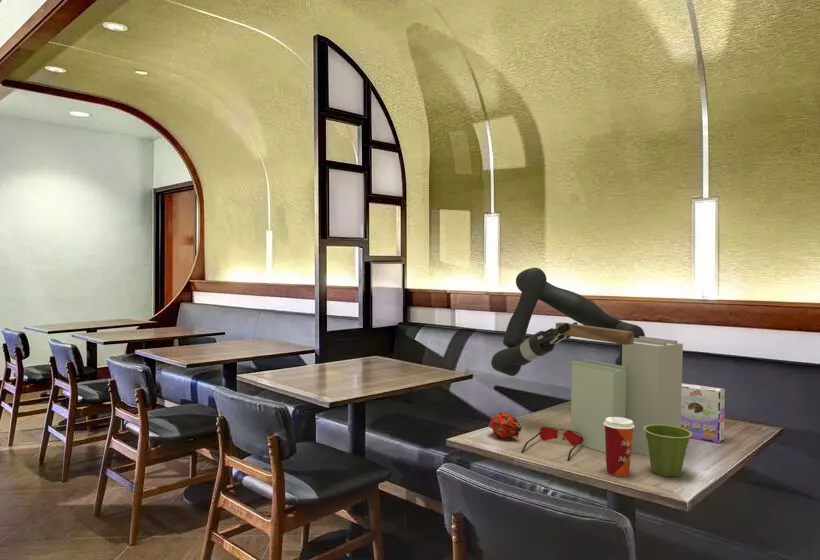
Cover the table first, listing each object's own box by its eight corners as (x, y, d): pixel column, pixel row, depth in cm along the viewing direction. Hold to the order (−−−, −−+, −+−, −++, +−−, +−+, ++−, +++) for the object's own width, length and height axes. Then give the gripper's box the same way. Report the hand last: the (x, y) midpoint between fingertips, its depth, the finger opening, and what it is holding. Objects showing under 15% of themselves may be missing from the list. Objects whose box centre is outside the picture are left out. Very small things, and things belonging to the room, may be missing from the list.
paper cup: (629, 480, 151) (631, 425, 150) (599, 474, 155) (600, 420, 154) (636, 471, 157) (637, 418, 157) (606, 465, 161) (607, 414, 161)
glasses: (584, 447, 178) (584, 431, 178) (568, 463, 164) (568, 445, 164) (539, 440, 185) (539, 424, 185) (520, 454, 171) (520, 437, 171)
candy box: (724, 440, 187) (726, 388, 186) (718, 444, 183) (720, 391, 182) (679, 431, 196) (680, 381, 196) (672, 434, 192) (674, 384, 191)
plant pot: (641, 476, 153) (642, 433, 153) (643, 462, 164) (644, 422, 164) (691, 483, 149) (692, 439, 148) (690, 469, 159) (691, 427, 159)
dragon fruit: (491, 436, 192) (518, 451, 183) (477, 425, 187) (504, 440, 178) (505, 414, 194) (532, 428, 185) (492, 402, 189) (519, 416, 180)
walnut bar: (562, 333, 191) (563, 322, 191) (633, 343, 170) (633, 331, 169) (555, 333, 189) (555, 322, 189) (626, 344, 168) (626, 332, 167)
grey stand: (643, 441, 184) (646, 335, 183) (679, 451, 174) (682, 340, 173) (619, 447, 177) (622, 338, 176) (656, 458, 168) (659, 342, 167)
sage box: (583, 438, 186) (584, 359, 185) (624, 451, 174) (626, 366, 173) (570, 441, 183) (572, 361, 182) (611, 454, 170) (613, 368, 170)
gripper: (517, 336, 195) (553, 315, 183) (547, 334, 203) (583, 313, 191) (525, 358, 192) (562, 337, 180) (555, 355, 200) (592, 335, 188)
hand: (572, 325), depth 185 cm, fingers closed on walnut bar, 3 cm apart
